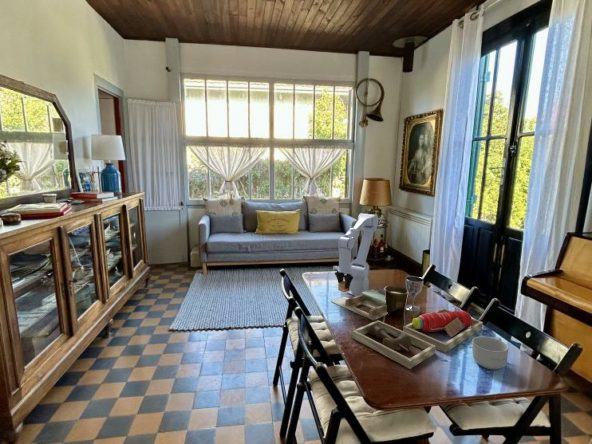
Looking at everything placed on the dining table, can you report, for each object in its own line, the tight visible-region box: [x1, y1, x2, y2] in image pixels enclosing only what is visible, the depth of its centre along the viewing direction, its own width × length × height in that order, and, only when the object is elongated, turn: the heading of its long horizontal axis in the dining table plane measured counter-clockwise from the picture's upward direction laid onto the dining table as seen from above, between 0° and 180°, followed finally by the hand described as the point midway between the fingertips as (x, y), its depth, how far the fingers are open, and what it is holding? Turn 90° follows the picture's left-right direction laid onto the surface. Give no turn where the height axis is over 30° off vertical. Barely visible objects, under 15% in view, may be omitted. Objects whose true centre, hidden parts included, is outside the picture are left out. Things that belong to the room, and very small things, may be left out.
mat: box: [330, 296, 351, 308], centre depth 167 cm, size 10×8×1 cm
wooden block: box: [337, 280, 351, 293], centre depth 166 cm, size 4×4×4 cm
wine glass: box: [404, 275, 424, 312], centre depth 160 cm, size 8×8×15 cm
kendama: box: [369, 323, 412, 352], centre depth 126 cm, size 6×10×20 cm
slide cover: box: [361, 288, 386, 304], centre depth 163 cm, size 8×16×3 cm, turn 38°
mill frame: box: [352, 319, 436, 370], centre depth 126 cm, size 16×26×3 cm, turn 38°
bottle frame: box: [402, 307, 484, 353], centre depth 138 cm, size 31×18×3 cm, turn 128°
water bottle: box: [411, 310, 473, 338], centre depth 137 cm, size 12×8×25 cm
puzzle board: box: [343, 295, 389, 321], centre depth 160 cm, size 20×18×4 cm
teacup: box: [471, 335, 509, 370], centre depth 115 cm, size 14×11×8 cm
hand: (344, 287), depth 166 cm, fingers closed on wooden block, 4 cm apart
